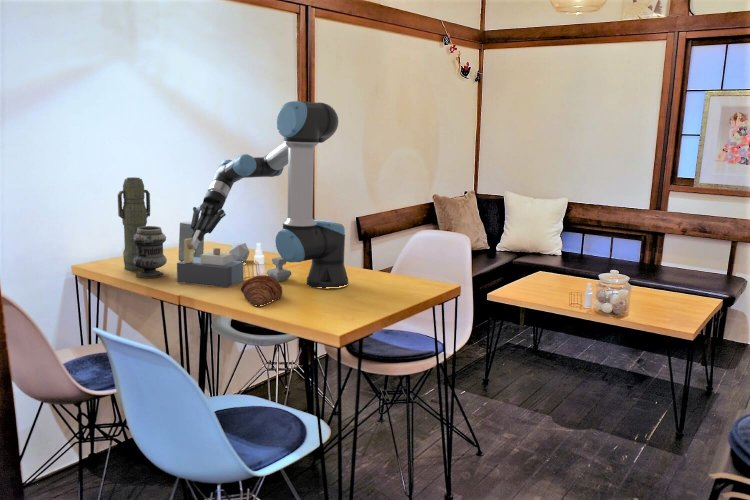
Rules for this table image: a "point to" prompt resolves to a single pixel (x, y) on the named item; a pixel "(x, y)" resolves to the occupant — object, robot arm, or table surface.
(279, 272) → the stamp
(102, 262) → the table surface
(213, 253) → the light grey block
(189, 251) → the tan upright block
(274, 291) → the brown ridged rounded piece
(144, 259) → the apothecary jar
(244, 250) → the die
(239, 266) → the box
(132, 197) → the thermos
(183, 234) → the skincare box
